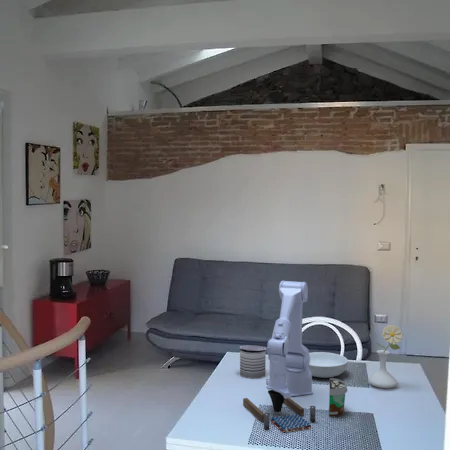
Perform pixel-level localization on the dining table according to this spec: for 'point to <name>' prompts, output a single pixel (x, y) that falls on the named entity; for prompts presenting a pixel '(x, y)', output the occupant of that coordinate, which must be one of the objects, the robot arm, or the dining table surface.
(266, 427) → the posts
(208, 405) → the dining table surface
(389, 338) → the flower in vase
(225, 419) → the dining table surface
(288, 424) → the woven mat
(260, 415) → the walled channel
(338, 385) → the food container
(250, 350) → the can
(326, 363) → the serving bowl
